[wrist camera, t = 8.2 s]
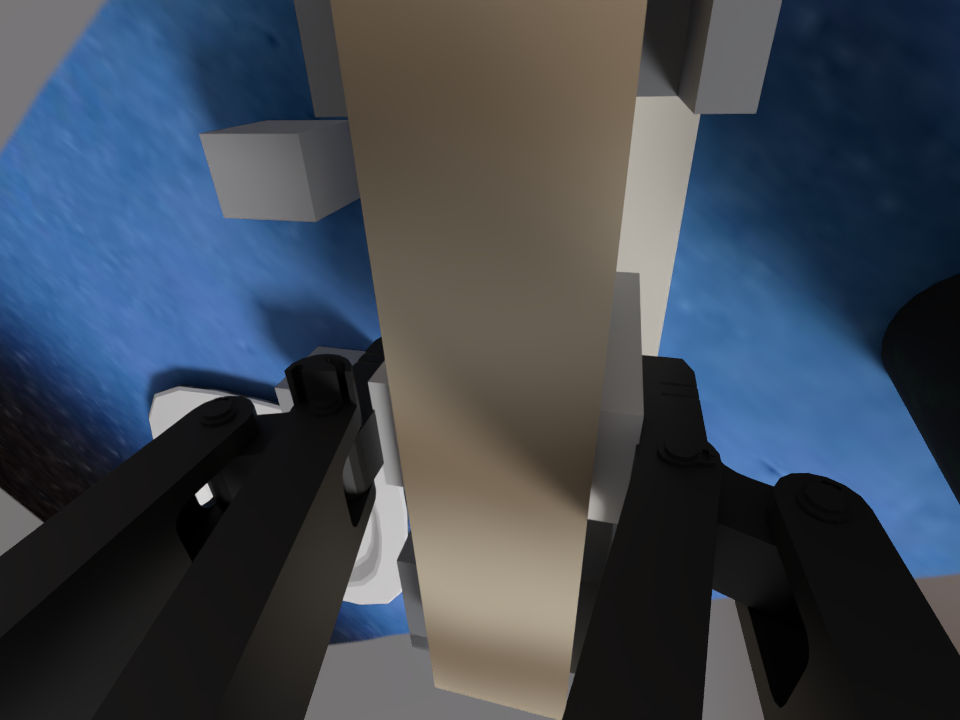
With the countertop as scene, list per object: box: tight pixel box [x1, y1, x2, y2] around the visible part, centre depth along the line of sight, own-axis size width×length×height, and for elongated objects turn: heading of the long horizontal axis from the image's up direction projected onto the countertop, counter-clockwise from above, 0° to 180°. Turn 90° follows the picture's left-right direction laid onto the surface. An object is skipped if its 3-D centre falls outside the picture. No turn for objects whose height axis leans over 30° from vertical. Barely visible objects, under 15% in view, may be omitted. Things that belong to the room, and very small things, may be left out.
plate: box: [149, 385, 409, 604], centre depth 34 cm, size 18×18×2 cm
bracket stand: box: [294, 0, 782, 687], centre depth 16 cm, size 8×21×12 cm, turn 2°
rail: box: [330, 0, 647, 720], centre depth 11 cm, size 17×4×4 cm, turn 2°
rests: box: [199, 120, 365, 413], centre depth 23 cm, size 4×14×4 cm, turn 2°
